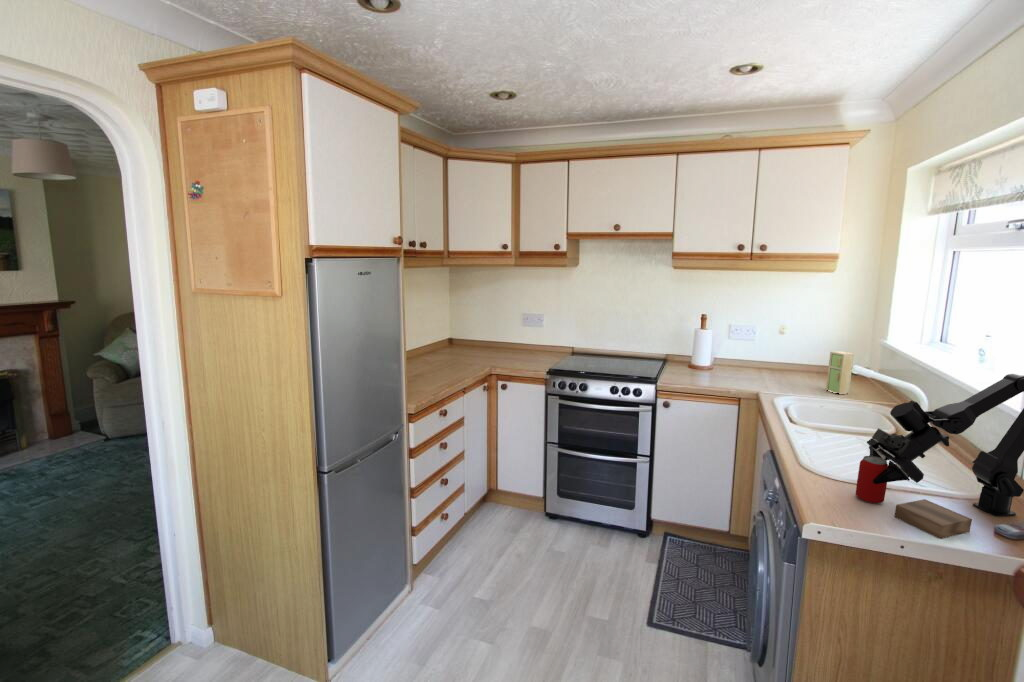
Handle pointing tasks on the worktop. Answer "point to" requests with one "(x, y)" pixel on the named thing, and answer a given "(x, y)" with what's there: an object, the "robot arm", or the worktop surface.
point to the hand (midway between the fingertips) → (867, 477)
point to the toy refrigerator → (839, 371)
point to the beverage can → (871, 480)
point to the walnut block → (933, 518)
